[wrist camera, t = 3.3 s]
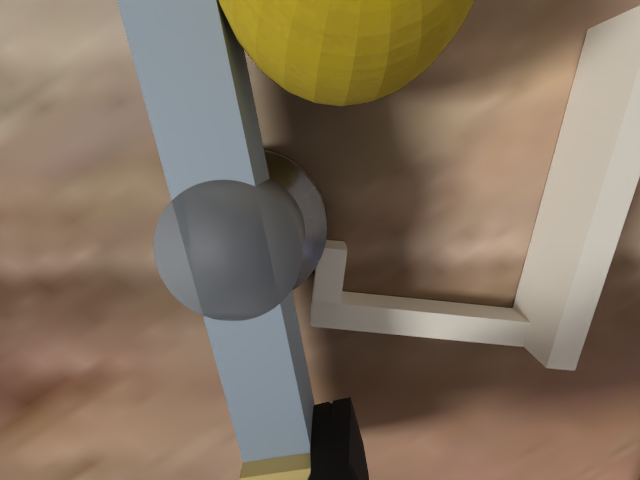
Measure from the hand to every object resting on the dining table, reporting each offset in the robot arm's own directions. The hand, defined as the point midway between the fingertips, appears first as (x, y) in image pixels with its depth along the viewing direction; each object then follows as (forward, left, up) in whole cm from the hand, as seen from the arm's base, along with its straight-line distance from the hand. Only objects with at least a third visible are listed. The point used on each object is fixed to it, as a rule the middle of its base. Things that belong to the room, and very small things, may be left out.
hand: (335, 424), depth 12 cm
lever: (+4, -7, 0) cm, 8 cm away
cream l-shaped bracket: (-3, -9, -2) cm, 10 cm away
